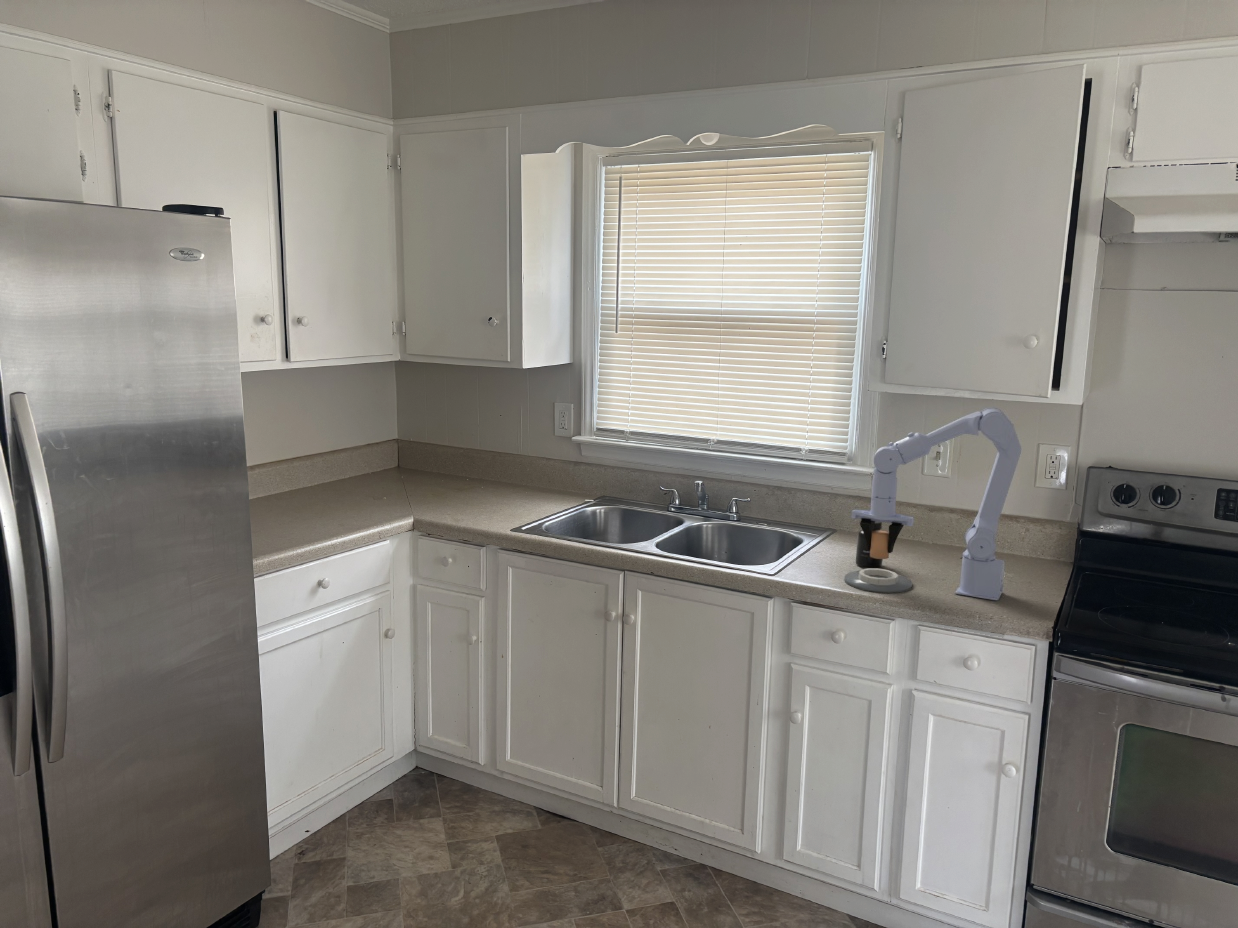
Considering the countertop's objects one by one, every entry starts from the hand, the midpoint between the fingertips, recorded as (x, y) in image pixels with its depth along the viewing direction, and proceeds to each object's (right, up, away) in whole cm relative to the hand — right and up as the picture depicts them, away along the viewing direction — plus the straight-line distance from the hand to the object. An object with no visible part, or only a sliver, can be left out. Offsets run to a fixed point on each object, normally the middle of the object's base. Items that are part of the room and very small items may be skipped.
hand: (879, 550), depth 221 cm
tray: (0, -8, +1) cm, 8 cm away
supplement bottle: (+2, -6, +16) cm, 17 cm away
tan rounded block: (0, -1, 0) cm, 1 cm away
